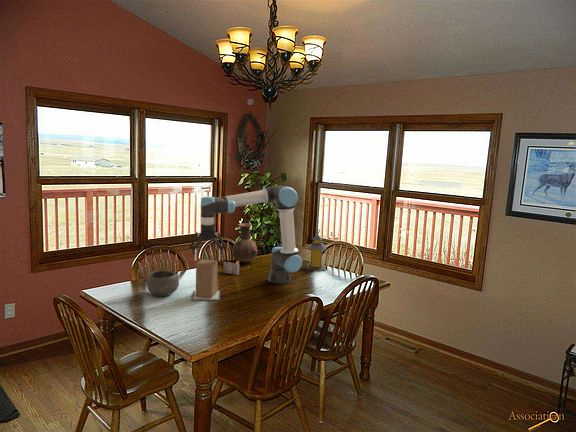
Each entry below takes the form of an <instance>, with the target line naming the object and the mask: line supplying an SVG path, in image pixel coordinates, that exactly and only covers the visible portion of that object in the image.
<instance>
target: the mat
mask: <svg viewBox="0 0 576 432" xmlns="http://www.w3.org/2000/svg"><path fill="white" fill-rule="evenodd" d="M190 300H191V302H208V301H209V302H221V290H217V293H216V294H215V295H214V296H213V297H212V298H207V297H198V296H196V290H193V291H192V296H191V299H190Z"/></svg>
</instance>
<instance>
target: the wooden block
mask: <svg viewBox="0 0 576 432" xmlns="http://www.w3.org/2000/svg"><path fill="white" fill-rule="evenodd" d="M195 291H196V296H198V297H207V298H212V297H213V296H214V295H215V294H216V293H217V291H218V260H213V259H201V260H199V261H198V262H196V263H195Z"/></svg>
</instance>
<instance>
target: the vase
mask: <svg viewBox="0 0 576 432" xmlns="http://www.w3.org/2000/svg"><path fill="white" fill-rule="evenodd" d="M237 226H238V227H239V228H240V238H239V239H238V240H237V241H236V242H235V243H234V245H232V247H231V248H232V249H231V256H232V258H233V259H235V260H236V261H239V262H241V263H244V264H245V263H247V262H250V261H253V259H255V258H257V256H258V255H259V251H258V247H257V246H258V245H257V244H256V242H254V241H253V240H252V239H251V236H250V231H251V230H250V229H251V227H253V224H252V223H249V222H246V223H245V222H244V223H243V222H241V223H238V224H237Z"/></svg>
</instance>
